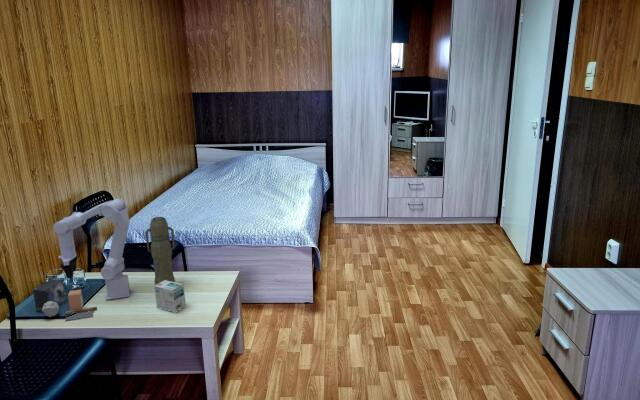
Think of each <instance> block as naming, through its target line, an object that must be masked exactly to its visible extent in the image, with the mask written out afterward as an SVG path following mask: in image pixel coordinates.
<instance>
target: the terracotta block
mask: <svg viewBox="0 0 640 400" xmlns="http://www.w3.org/2000/svg"><path fill="white" fill-rule="evenodd" d="M67 299H68V304H69V311H71V310H78V309H84V307H83V305H84V299H83V294H82V289H76V290H69V292H68V294H67Z"/></svg>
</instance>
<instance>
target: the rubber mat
mask: <svg viewBox="0 0 640 400" xmlns="http://www.w3.org/2000/svg"><path fill="white" fill-rule="evenodd" d="M93 313H95V311H90V312H84V313H77V314H74V315H72V314H71V315H72V316H69V317H67V316H66V317H65V322H70V321H75V320H83V319H84V320H85V319H89V318H94V314H93Z"/></svg>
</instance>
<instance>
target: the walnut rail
mask: <svg viewBox="0 0 640 400" xmlns="http://www.w3.org/2000/svg"><path fill="white" fill-rule="evenodd" d="M95 310H97V311H98V306H93V307H92V306H91V307H86V308H83V309H78V310H71V311H70V310H66V311H65V312H64V315H65V314H68V313H72V312H76V313H77V314H78V313H82V312H84V313H85V312H88V311H90V312H91V311H94V312H95Z"/></svg>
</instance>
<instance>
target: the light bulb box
mask: <svg viewBox="0 0 640 400" xmlns="http://www.w3.org/2000/svg"><path fill="white" fill-rule="evenodd" d="M154 294H155V295H154V296H155V302H156V309H158V308H162V309H166V310H169V311H168V312H170V311H174V312H176V311H178V310H179V309H181V308H182V307H184V306H185V305H186V306H187V304H186V294H185V284H184V283H180V282H176V281H175V282H171V281H167V280H164V281H162V282H160V283H158V284H156V285H155V284H154ZM186 306H185V307H186ZM185 307H184V308H185ZM162 309H161V310H162ZM182 309H183V308H182ZM182 309H181V310H182ZM166 310H165V311H166ZM179 311H180V310H179ZM179 311H178V312H179ZM174 312H173V313H174ZM176 313H177V312H176Z"/></svg>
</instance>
